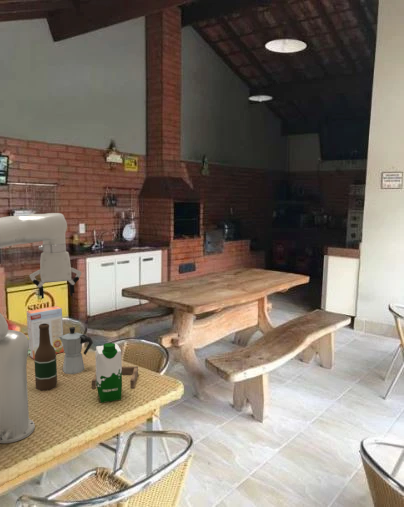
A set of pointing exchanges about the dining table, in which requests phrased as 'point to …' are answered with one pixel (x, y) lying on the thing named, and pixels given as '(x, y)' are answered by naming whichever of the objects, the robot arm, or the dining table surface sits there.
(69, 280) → the robot arm
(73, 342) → the coffee maker
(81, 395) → the dining table surface
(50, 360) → the beer bottle
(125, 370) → the frame
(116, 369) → the soya milk
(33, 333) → the cracker box
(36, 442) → the dining table surface
